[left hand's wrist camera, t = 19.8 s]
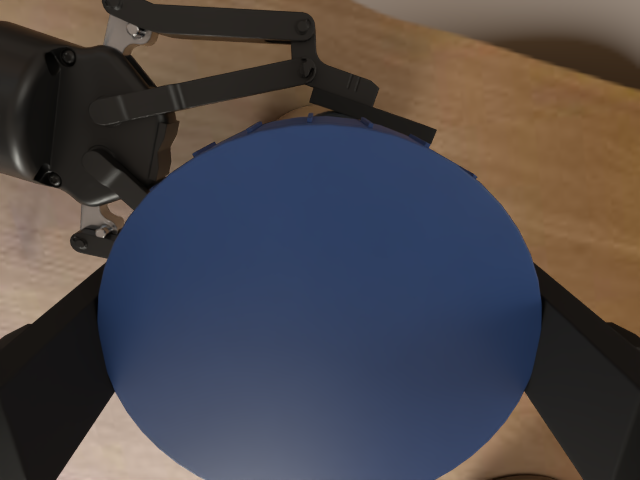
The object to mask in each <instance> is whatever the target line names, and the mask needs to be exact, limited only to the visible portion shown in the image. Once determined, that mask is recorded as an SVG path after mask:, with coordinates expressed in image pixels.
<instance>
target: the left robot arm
mask: <svg viewBox="0 0 640 480" xmlns="http://www.w3.org/2000/svg"><path fill="white" fill-rule="evenodd" d="M105 264H106V263H105ZM105 264H104V265H102V266H101V267H100V268H99V269H98V270H96V271H95V272H94V273H93V274H91V275H90V276H89V277H88V278H87V279H85V280H84V281H83V282H82V283H81V284H79V285H78V286H77V287H76V288H75V289H73V290H72V291H71V292H70V293H69V294H67V295H66V296H65V297H64V298H63V299H61V300H60V301H59V302H58V303H57V304H55V305H54V306H53V307H52V308H51V309H49V310H48V311H47V312H46V313H45V314H43V315H42V316H41V317H40V318H38V319H37V320H36V321H35V322H34V323H32V324H27V325H25V326H23V327H21V328H19V329H17V330H15V331H13V332H11V333H9V334H7V335H5V336H4V337H2V338H1V339H0V480H56V479H57V478H58V476H59V475H60V473H61V472H62V470H63V469H64V467H65V466H66V464H67V463H68V461H69V460H70V458H71V457H72V455H73V454H74V452H75V451H76V449H77V448H78V446H79V445H80V443H81V442H82V440H83V439H84V437H85V436H86V434H87V433H88V431H89V430H90V428H91V427H92V425H93V424H94V422H95V421H96V419H97V418H98V416H99V415H100V413H101V412H102V410H103V409H104V407H105V406H106V404H107V403H108V401H109V400H110V398H111V397H112V395H113V394H114V392H115V390H114V388H113V385H112V383H111V381H110V378H109V376H108V373H107V369H106V365H105V360H104V356H103V351H102V346H101V341H100V336H99V331H98V324H97V312H98V294H99V289H100V285H101V280H102V275H103V271H104V267H105ZM533 264H534V267H535V270H536V274H537V277H538V281H539V288H540V295H541V303H542V327H541V333H540V338H539V343H538V348H537V352H536V357H535V362H534V366H533V370H532V374H531V377H530V380H529V382H528V384H527V386H526V388H525V390H524V391H525V393H526V394H527V396H528V397H529V399H530V400H531V402H532V403H533V405H534V406H535V408H536V409H537V411H538V412H539V414H540V415H541V417H542V418H543V420H544V421H545V423H546V424H547V426H548V427H549V429H550V430H551V432H552V433H553V435H554V436H555V438H556V439H557V441H558V442H559V444H560V445H561V447H562V448H563V450H564V451H565V453H566V454H567V456H568V457H569V459H570V460H571V462H572V463H573V465H574V466H575V468H576V469H577V471H578V472H579V474H580V475H581V477H582V478H583V480H640V338H639V337H638V336H637V335H636V334H634V333H632V332H630V331H628V330H626V329H624V328H622V327H620V326H618V325H616V324H614V323H612V322H605V321H603V320H602V319H601V318H600V317H599V316H597V315H596V314H595V313H594V312H593V311H591V310H590V309H589V308H588V307H587V306H585V305H584V304H583V303H582V302H581V301H579V300H578V299H577V298H576V297H575V296H573V295H572V294H571V293H570V292H568V291H567V290H566V289H565V288H564V287H562V286H561V285H560V284H559V283H558V282H556V281H555V280H554V279H553V278H552V277H550V276H549V275H548V274H547V273H546V272H544V271H543V270H542V269H541V268H540V267H538V266H537V265H536V264H535V263H534V262H533ZM497 480H556V479H553V478H549V477H543V476H534V475H521V476H511V477H505V478H501V479H497Z"/></svg>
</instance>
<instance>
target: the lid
mask: <svg viewBox="0 0 640 480" xmlns="http://www.w3.org/2000/svg"><path fill="white" fill-rule="evenodd" d="M429 146H430V144H429V143H427V142H425V141H423V140H421V139H419V138H418V137H416V136H414V135H412V134H410V135H409V137H408V136H406V135H404V134H401V133H399V132H396V131H394V130H391V129H389V128H386V127H384V126H381V125H377V124H373V123H372V122H370V121H369V120H367V119H366V118H363V117H361V120H357V119H350V118H340V117H330V116H315V117H313V113H309V114H308V117H296V118H290V119H285V120H279V121H273V122H269V123H266V124H263V125H262V122H261V121H260V122H257V123H256V124H254V125H252V126H251V127H249V128H247V129H246V130H244V131H242V132H240V133H238V134H236V135H234V136H232V137H230V138H228V139H226V140H224V141H222V142H220V143H218V144H216V143H215V142H213V143H211V144H209V145H207V146H206V147H204V148H202V149H200V150H198V151H196V152H195V153H193V154H192V155H193V156H194V158H192V159H191V160H189V161H188V162H186V163H185V164H184V165H182V166H181V167H179V168H178V169H176V170H175V171H173V172H172V173H170V174H169V175H168V176H167V177H166V178H165V179H163V180H162V181H161V182H160V183H158V184H156V185H155V186H153V187H152V188H151V189H150V192H149V193H148V194H147V195H146V196H145V198H144V199H143V200H142V201H141V202H140V204H139V205H138V206H137V207H136V209H135V210H134V211H133V212H132V214H131V215H130V216H129V217H128V219H127V221H126V222H125V224H124V226H123V228H122V229H121V231H120V233H119V234H118V236H117V238H116V240H115V241H114V243H113V246H112V249H111V251H110V254H109V256H108V259H107V262H106V264H105V267H104V271H103V275H102V280H101V285H100V289H99V294H98V312H97V324H98V331H99V336H100V341H101V346H102V351H103V356H104V360H105V365H106V369H107V373H108V376H109V378H110V381H111V383H112V385H113V388H114V390H115V392H116V394H117V396H118V397H119V399H120V401H121V403H122V404H123V406H124V408H125V409H126V411H127V413H128V414H129V415H130V417H131V418H132V419H133V421H134V422H135V423H136V424H137V426H138V427H139V428H140V430H141V431H142V432H143V433H144V434H145V435H146V436H147V437H148V438H149V439H150V440H151V441H152V442H153V443H154V444H155V445H156V446H157V447H158V448H159V449H160V450H161V451H163V452H164V453H165V454H166V455H168V456H169V457H170V458H171V459H173V460H174V461H175V462H176V463H178V464H179V465H181V466H182V467H184V468H185V469H187V470H189V471H190V472H192V473H193V474H195V475H197V476H198V477H200V478H202V479H204V480H435V479H437V478H439V477H441V476H442V475H444V474H446V473H448V472H449V471H451V470H453V469H454V468H456V467H457V466H458V465H460V464H461V463H463V462H464V461H465V460H467V459H468V458H469V457H471V456H472V455H473V454H474V453H475V452H477V451H478V450H479V449H480V448H481V447H482V446H483V445H484V444H485V443H487V442H488V441H489V440H490V439H491V438H492V436H493V435H494V434H495V433H496V432H497V431H498V430H499V428H500V427H501V426H502V425H503V424H504V423H505V421H506V420H507V418H508V417H509V415H510V414H511V413H512V411H513V410H514V408H515V407H516V405H517V404H518V402H519V400H520V398H521V396H522V394H523V392H524V390H525V388H526V386H527V384H528V382H529V380H530V377H531V374H532V370H533V366H534V362H535V357H536V352H537V348H538V343H539V338H540V333H541V327H542V303H541V295H540V288H539V281H538V277H537V274H536V270H535V267H534V264H533V260H532V257H531V254H530V252H529V250H528V248H527V246H526V244H525V242H524V240H523V238H522V235H521V233H520V231H519V229H518V228H517V226H516V225H515V223H514V222H513V221H512V219H511V217H510V216H509V215H508V213H507V212H506V211H505V209H504V208H503V206H502V205H501V204H500V203H499V202H498V201H497V200H496V199H495V198H494V196H493V195H492V194H491V193H490V192H489V191H488V190H487V189H486V188H485V187H484V186H483V185H482V184H481V183H480V182H479V181H477V180H476V178H477V176H476V175H474V174H473V173H471V172H469V171H468V170H466V169H464V168H462V167H461V166H459V165H457V164H455V163H454V162H452V161H450V160H448V159H447V158H445V157H443V156H441V155H440V154H438V153H436V152H435V151H433V150H431V149H429Z"/></svg>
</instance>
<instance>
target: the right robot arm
mask: <svg viewBox="0 0 640 480" xmlns="http://www.w3.org/2000/svg"><path fill="white" fill-rule="evenodd" d="M102 3H103V6H104V8H105V10H106V11H107V12H108V13H109V14H110V16H109V21H108V25H107V30H106V34H105V39H104V44H103V45H98V46H94V47H82V46H79V45H76V44H73V43H70V42H67V41H64V40H61V39H58V38H55V37H53V36H50V35H47V34H44V33H41V32H38V31H35V30H32V29H29V28H26V27H23V26H20V25H17V24H14V23H11V22H7V21H0V173H3V174H6V175H10V176H13V177H16V178H20V179H23V180H26V181H30V182H33V183H36V184H41V185H45V186H50V187H55V188H58V189H61V190H63V191H65V192H66V193H68V194H69V195H71V196H72V197H73V198H74V199H75V200H76V201H78V202H79V203H81V204H82V205H81V227H80V231H78V232H77V233H75V234H73V236H72V237H71V239H70V243H71V246H72V247H73V249H74V250H76V251H77V252H80V253H84V254H89V255H93V256H98V257H103V258H107V259H108V256H109V254H110V251H111V249H112V246H113V243H114V241H115V240H116V238H117V236H118V234H119V233H120V231H121V229H122V228H123V226H124V219H123V218H122V217H120V216H116V215H114V214H112V213H111V212H110V211H109V209H108V207H107V204H108V203H111V202H114V201H117V200H120V199H122V200H123V201H124V202H125V203H126V204H127V205H129V206H130V207H131V208H132V209H133V210H135V209H136V207H137V206H138V205H139V204H140V202H141V201H142V200H143V199H144V198H145V196H146V195H147V194H148V193H149V192H150V189H151V188H152V187H153V186H155V185H156V184H158V183H160V182H161V181H162V180H163V179H165V178H166V177H165V176H166V175H168V174H169V170H170V165H171V151H170V147H171V144H172V143H173V141H174V139H175V137H176V135H177V131H178V126H179V121H177V120H176V115H175V111H179V110H184V109H189V108H194V107H198V106H203V105H208V104H213V103H218V102H223V101H227V100H232V99H237V98H242V97H247V96H252V95H256V94H261V93H266V92H271V91H276V90H281V89H285V88H290V87H295V86H300V85H307V86H310V87H313V91H312V95H311V98H310V101H309V102H310V103H313V104H315V105H318V106H321V107H324V108H327V109H330V110H333V111H336V112H339V113H342V114H345V115H347V116H350V117H353V118H356V119H359V120H361V117H363V118H366V119H367V120H369V121H370V122H372V123H373V124H377V125H381V126H384V127H386V128H389V129H391V130H394V131H396V132H399V133H401V134H404V135H406V136H409V135H410V134H412V135H414V136H416V137H418V138H419V139H421V140H423V141H425V142H427V143H429V144H431V143H432V141H433V138H434V136H435V133H436V131H437V130H436V129H434V128H431V127H428V126H426V125H423V124H420V123H417V122H414V121H411V120H408V119H406V118H403V117H400V116H397V115H394V114H391V113H388V112H386V111H383V110H380V109H377V108H374V107H373V104H374V102H375V99H376V96H377V93H378V90H379V88H378V87H377V86H376V85H375V84H374V83H373V82H372V81H370V80H367V79H365V78H362V77H359V76H356V75H353V74H351V73H348V72H345V71H342V70H339V69H337V68H334V67H331V66H328V65H326V64H324V63H323V62H322V61H320V59H319V58H318V56H317V53H316V31H315V23H314V20H313V18H312V17H311V16H310V15H309V14H307V13H303V12H288V11H270V10H252V9H234V8H215V7H197V6H179V5H161V4H152V3H150V2H148V1H146V0H102ZM158 34H161V35H164V36H168V37H172V38H179V39H193V40H212V41H230V42H249V43H268V44H286V45H291V53H292V59H291V60H287V61H282V62H277V63H272V64H268V65H263V66H258V67H254V68H249V69H244V70H239V71H235V72H230V73H225V74H220V75H216V76H211V77H206V78H202V79H197V80H192V81H187V82H183V83H177V84H171V85H165V86H160V87H157V86H156V85H155V84H154V83H153V81H152V80H151V79H150V78H149V76H148V75H147V74H146V73H145V72H144V70H143V69H142V68H141V67H140V65H139V64H138V63H137V62H136V60H135V59H134V58H133V57H132V56H131V52H132V50H133V49H134V48H135V47H136V46H140V45H142V46H151V45H153V44H154V43H155V42H156V41H157V38H158Z"/></svg>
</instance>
